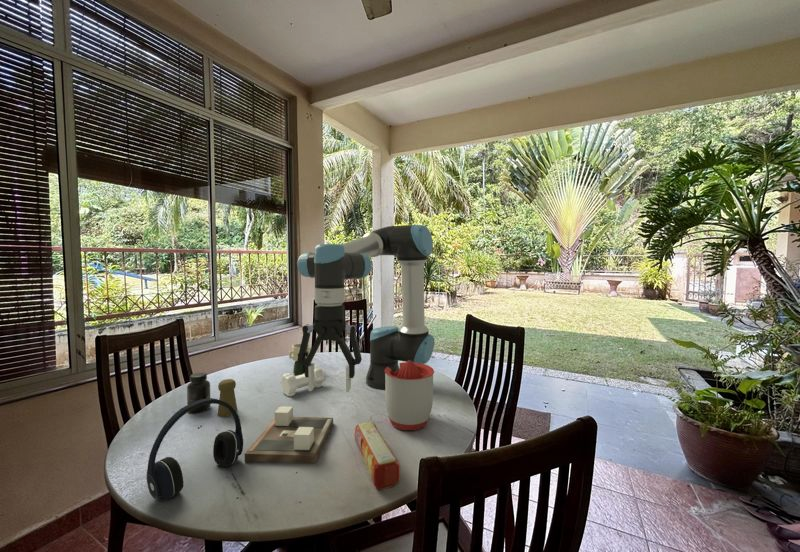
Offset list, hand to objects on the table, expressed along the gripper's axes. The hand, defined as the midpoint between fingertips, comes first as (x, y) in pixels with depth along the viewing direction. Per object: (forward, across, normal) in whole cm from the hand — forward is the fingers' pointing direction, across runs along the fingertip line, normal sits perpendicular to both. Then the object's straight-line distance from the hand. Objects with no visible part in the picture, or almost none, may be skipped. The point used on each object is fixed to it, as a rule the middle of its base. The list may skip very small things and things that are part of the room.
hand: (329, 389), depth 87 cm
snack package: (+18, +12, -3) cm, 22 cm away
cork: (+18, -40, +22) cm, 49 cm away
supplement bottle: (+18, -51, +24) cm, 59 cm away
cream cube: (+15, -7, 0) cm, 17 cm away
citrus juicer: (+18, +20, +19) cm, 33 cm away
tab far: (+15, -17, +12) cm, 26 cm away
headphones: (+18, -28, -11) cm, 35 cm away
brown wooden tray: (+17, -12, +6) cm, 22 cm away
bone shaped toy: (+18, -21, +42) cm, 50 cm away
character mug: (+18, -28, +60) cm, 69 cm away
